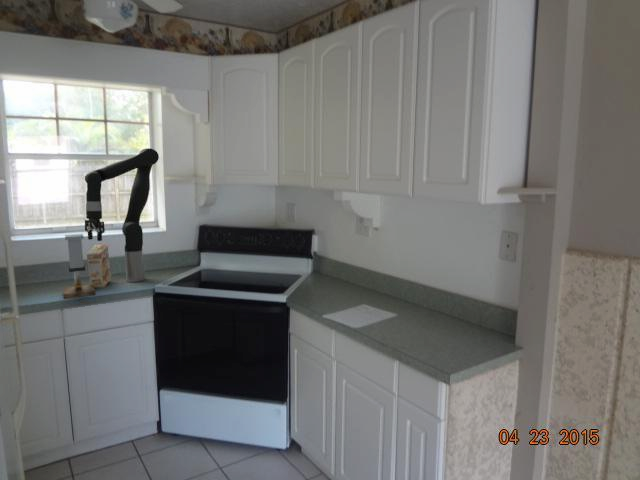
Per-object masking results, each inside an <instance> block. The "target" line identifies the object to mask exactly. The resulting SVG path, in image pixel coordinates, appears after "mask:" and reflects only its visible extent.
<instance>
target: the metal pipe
mask: <svg viewBox="0 0 640 480" xmlns="http://www.w3.org/2000/svg"><path fill="white" fill-rule="evenodd" d="M73 279H74V287H75V290H82V286H83V282H82V281H83V280H82V271H75V272H73Z"/></svg>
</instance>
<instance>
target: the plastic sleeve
mask: <svg viewBox="0 0 640 480" xmlns="http://www.w3.org/2000/svg"><path fill="white" fill-rule="evenodd" d="M64 237H65V238H64V239H65V241H67V248H68V258H69V266H70V269H71V268H82V267H84V265H85V264H84V255H83V253H84V252H83V242H82V241H83V240H84V238H85V237H84V234H83V233H79V234H77V233H75V234H65V235H64Z"/></svg>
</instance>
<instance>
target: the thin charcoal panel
mask: <svg viewBox="0 0 640 480" xmlns="http://www.w3.org/2000/svg"><path fill="white" fill-rule="evenodd" d="M75 271H81V272H84V271H86V265H85V264H84V267H82V268H71V269H70V265H69V266H68V272H69V273H74V272H75Z"/></svg>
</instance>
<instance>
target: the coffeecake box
mask: <svg viewBox="0 0 640 480" xmlns="http://www.w3.org/2000/svg"><path fill="white" fill-rule="evenodd" d="M86 261H87V267H88V276H89V285H93V286H94V289H98V288H99V289H101V288H103V289H104V288H105V287H106V286H107V284H108V283H109V281H110V280H111V279H112V273H111V272H112V271H111V267H110V266H111V264H110V255H109V245H108V244H94V245H93V246H92V248H91V249H89V251H88V252H87V253H86Z"/></svg>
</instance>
